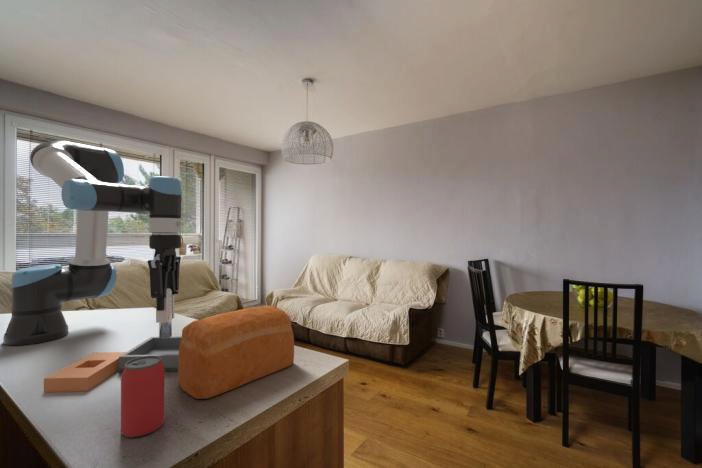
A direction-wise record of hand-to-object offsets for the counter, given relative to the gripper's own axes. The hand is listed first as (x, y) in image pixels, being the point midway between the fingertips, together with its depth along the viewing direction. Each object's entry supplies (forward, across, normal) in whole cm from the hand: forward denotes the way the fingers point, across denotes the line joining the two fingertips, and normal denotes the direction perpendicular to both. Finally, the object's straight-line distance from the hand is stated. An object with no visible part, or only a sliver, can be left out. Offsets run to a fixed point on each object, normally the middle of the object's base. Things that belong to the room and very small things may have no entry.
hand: (165, 320), depth 88 cm
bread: (+11, -10, -22) cm, 27 cm away
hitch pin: (+5, 0, 0) cm, 5 cm away
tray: (+11, 0, 0) cm, 11 cm away
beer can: (+11, -31, -11) cm, 35 cm away
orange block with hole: (+11, -9, +13) cm, 19 cm away
